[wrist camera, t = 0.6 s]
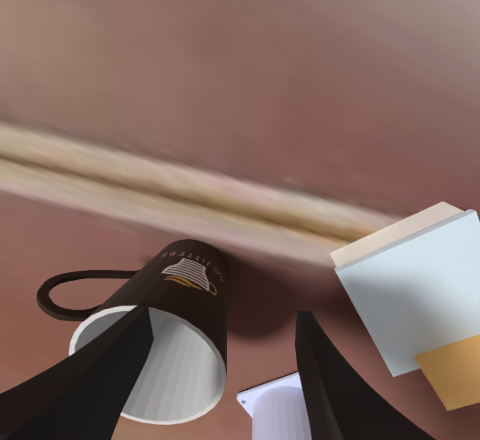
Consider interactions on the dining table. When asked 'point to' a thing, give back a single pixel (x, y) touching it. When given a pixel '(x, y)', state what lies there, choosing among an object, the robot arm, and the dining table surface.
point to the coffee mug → (165, 329)
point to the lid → (425, 305)
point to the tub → (394, 233)
